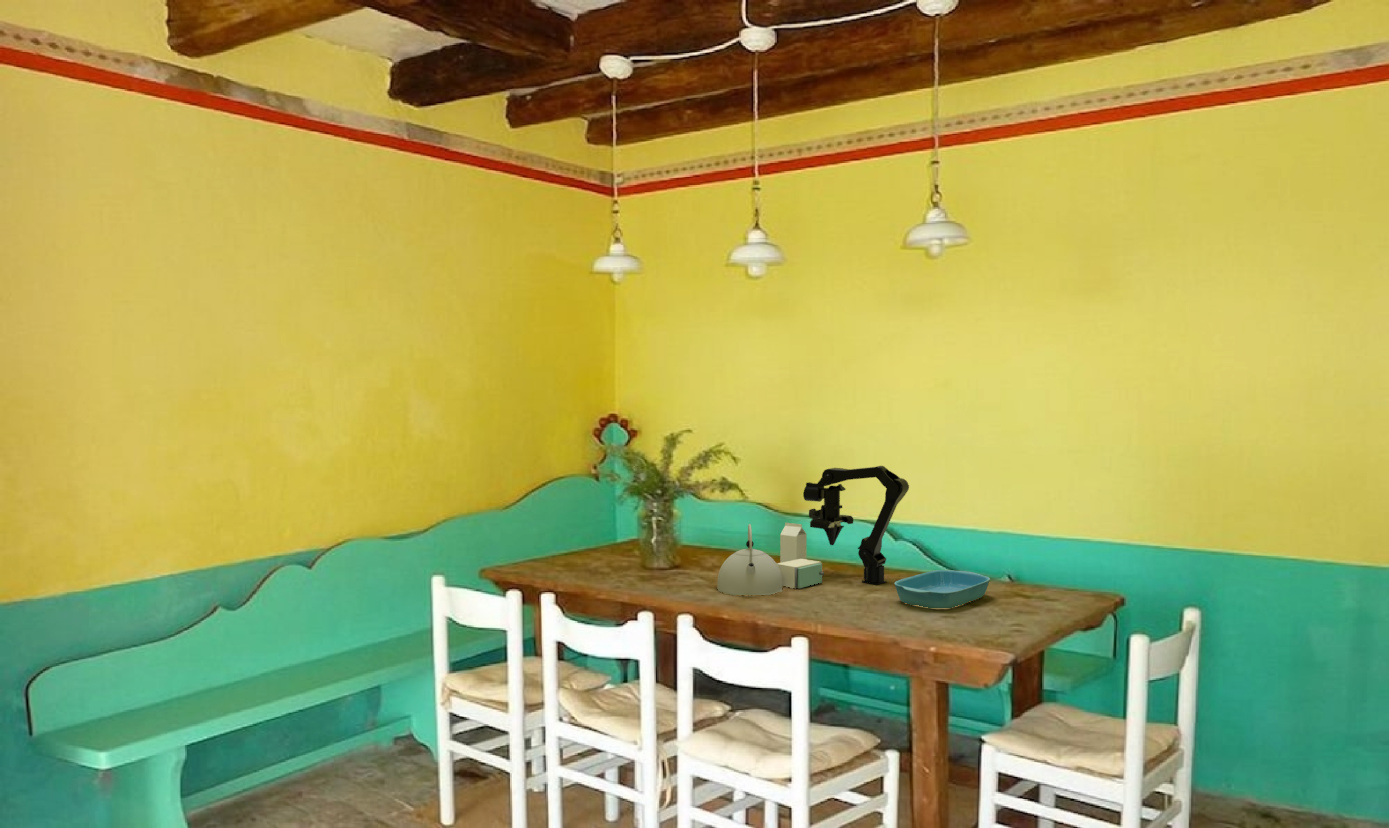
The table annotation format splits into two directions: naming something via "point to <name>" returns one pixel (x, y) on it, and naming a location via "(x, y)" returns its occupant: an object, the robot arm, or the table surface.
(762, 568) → the kettle
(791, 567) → the cupboard
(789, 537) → the milk carton
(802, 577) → the door
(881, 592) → the table surface
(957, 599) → the casserole dish
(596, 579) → the table surface
